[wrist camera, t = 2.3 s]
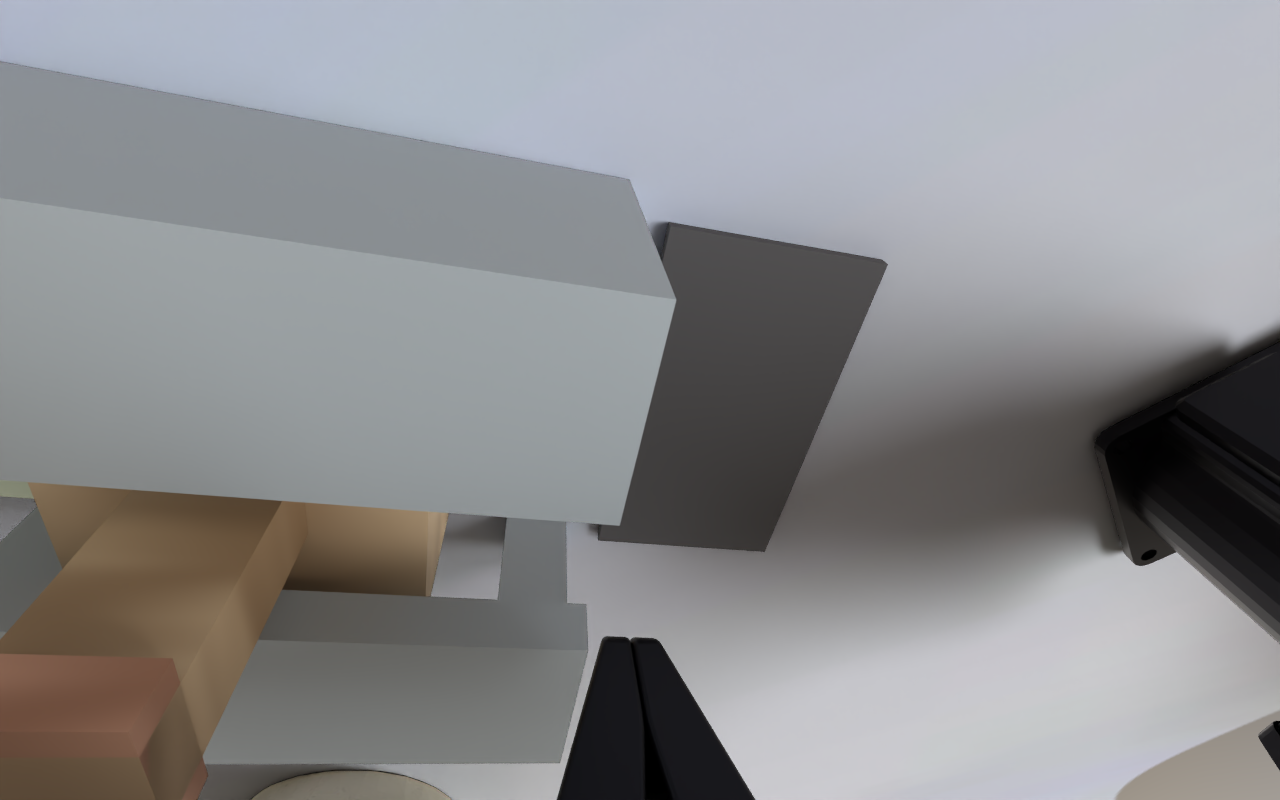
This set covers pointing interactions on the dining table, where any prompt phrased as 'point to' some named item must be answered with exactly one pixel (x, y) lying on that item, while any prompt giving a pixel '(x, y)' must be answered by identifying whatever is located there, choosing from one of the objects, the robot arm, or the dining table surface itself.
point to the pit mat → (740, 384)
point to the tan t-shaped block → (170, 626)
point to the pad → (15, 489)
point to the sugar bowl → (351, 787)
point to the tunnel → (330, 385)
